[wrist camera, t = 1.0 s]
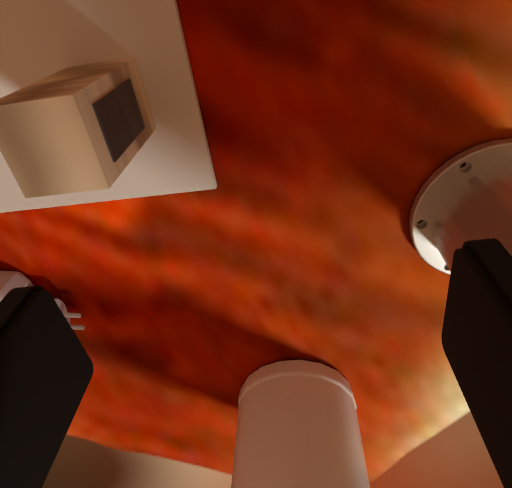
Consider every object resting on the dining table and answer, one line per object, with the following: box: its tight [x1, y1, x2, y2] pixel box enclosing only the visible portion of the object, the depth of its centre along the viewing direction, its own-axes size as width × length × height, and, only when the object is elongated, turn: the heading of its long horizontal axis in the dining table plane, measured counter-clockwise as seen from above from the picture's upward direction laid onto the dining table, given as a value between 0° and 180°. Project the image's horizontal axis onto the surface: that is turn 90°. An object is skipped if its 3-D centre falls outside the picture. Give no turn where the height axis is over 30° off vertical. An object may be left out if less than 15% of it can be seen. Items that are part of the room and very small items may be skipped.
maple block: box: [0, 57, 156, 198], centre depth 25 cm, size 5×5×10 cm
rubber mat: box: [0, 0, 217, 213], centre depth 30 cm, size 24×16×1 cm, turn 98°
